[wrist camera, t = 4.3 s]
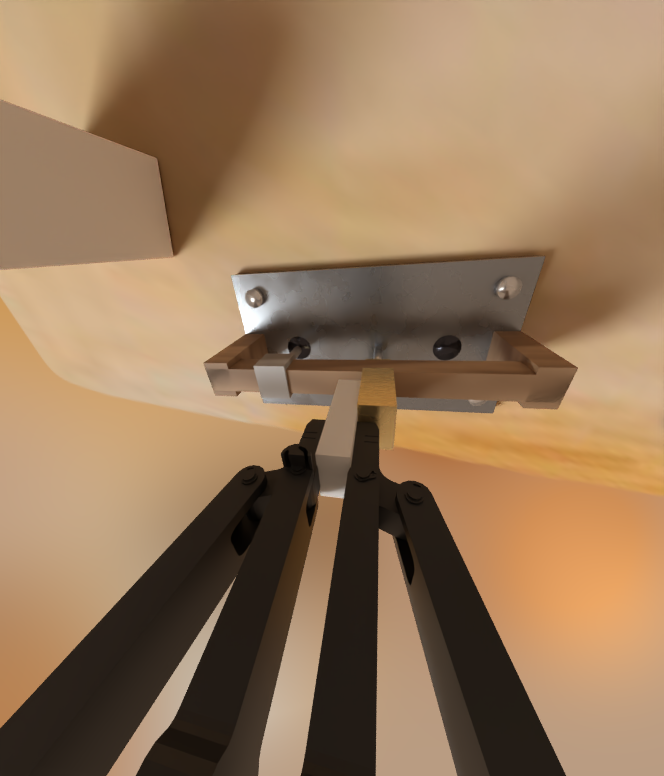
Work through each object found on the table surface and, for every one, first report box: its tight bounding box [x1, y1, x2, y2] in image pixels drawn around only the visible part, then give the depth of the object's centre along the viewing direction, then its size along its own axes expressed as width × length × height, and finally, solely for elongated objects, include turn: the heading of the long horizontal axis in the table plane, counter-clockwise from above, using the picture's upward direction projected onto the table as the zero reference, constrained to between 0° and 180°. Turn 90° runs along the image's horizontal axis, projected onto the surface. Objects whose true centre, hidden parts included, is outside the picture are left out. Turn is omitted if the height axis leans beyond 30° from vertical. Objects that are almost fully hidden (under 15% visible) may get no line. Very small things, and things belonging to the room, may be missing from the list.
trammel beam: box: [204, 331, 578, 409], centre depth 20 cm, size 3×25×7 cm, turn 94°
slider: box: [357, 346, 397, 450], centre depth 18 cm, size 4×2×11 cm, turn 4°
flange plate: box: [231, 256, 545, 413], centre depth 23 cm, size 14×25×2 cm, turn 94°
